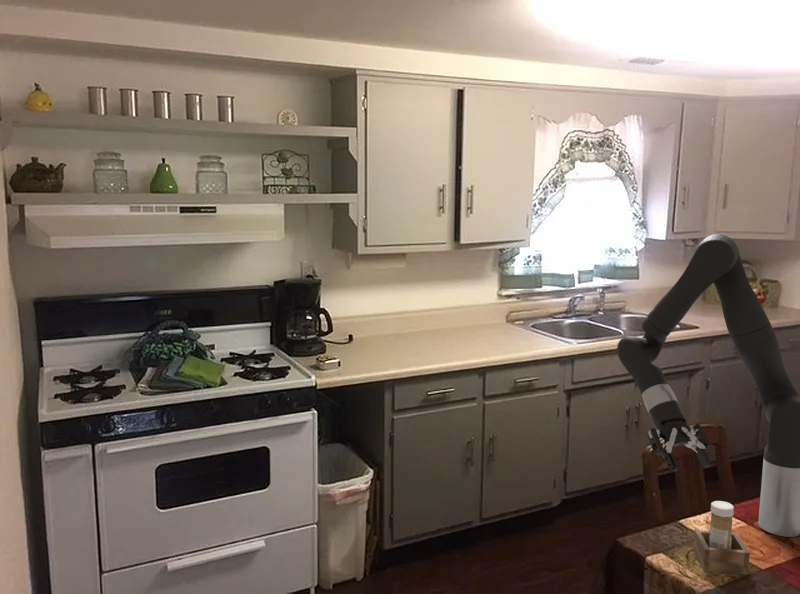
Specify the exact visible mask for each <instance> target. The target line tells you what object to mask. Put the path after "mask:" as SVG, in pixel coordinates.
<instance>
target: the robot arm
mask: <svg viewBox="0 0 800 594" xmlns="http://www.w3.org/2000/svg"><path fill="white" fill-rule="evenodd" d="M739 251H740V250H739V248H738V245H737V244H736V242H735V241H734V239H732V238H731V237H729V236H728V235H724V234H721V233H714V234H710V235H708V236H707V237H705V238H704V239H702V240H701V241H700V243H699V244H698V245H696V248H695V250H694V252H693V256H692V257H691V259H690V261H688V265H687V266H686V268H685V270H684V271H683V273H682V274H681V276H680V277H679V278H678V280H677V281H676V283H674V285H673V286H672V287H671V288H670V289H669V290H668V291H667V293H665V295H664V296H663V297H662V298H661V299H660V300H659V301H658V302H657V303H656V305H655V306H654V307H653V308H652V309H651V311H650V312H649V313H648V314H647V315H646V317H645V318H644V319H643V322H642V323H641V327H642V330H643V331H644V335H643V336H642V337H639V336H632V335H628V336H627V335H626V336H624V337H622V338H620V340H619V341H618V343H617V346H616V351H617V356H618V359H619V361H620V363H621V364H622V366H623V368H624V369H626V371H627V372H628V374H629V375H630V377H631V378H632V379H633V380H634V381H635V383H636V386H637V388H638V390H639V392H640V395H641V397H642V400H643V403H644V406H645V409H646V410H647V413H648V415H649V417H650V419H651V421H652V424H653V426H654V427H652V428H651V429H650V430H648V432H647V433H646V436H647V439H648V441H649V444H650V447H651V450H652V453H653V454H654V455H655V456H662V457H663V458H664V461H665V462H666V465H667V467H668V469H670V470H671V472H673V473H674V472H677V471H678V470H679V467H680V466H679V464H678V462H677V459H676V457H675V455H674V453H673V452H672V450H673V447H674V448H675V447H677V446H680V447H682V446H685V447H686V448H688V449H691V450H693V451H694V452H696V457H697V459H698V461H699V462H700V465H701V468H703V469H704V468H708V467H709V466H710V465H711V460H710V457H709V455H708V454H707V451H706V449H708V448H709V447H710V446H711V442H710V441H709V439H708V436H707V435H706V433H705V431H704V430H703V427H702V426H701V425H700V423H698V422H697V423H695V424H694V425H688V423H687V421H686V420H687V419H686V415H685V413H684V412H683V409H682V407H681V404H680V403H679V400H678V399H677V397H676V394H675V393H674V391H673V389H672V388H671V386H670V385H669V383H668V380H667V378H666V376H665V374H664V371H662V369H661V368H660V367H659V366H657V365H655V364H654V363H653V362H654V361H655V360H657V358H658V357H659V355H660V353H661V352H662V350H663V347H664V345H665V342H666V341H667V338H668V336H670V334H671V333H672V332H673V331H674V330H675V329H676V327H677V326H678V325H679V323H680V322H681V321H682V319H684V317H685V316H686V315H687V314H688V312H689V310H690V309H691V308H692V306H693V305H694V304H695V302H696V301H697V300H698V299H699V298H700V296H702V294H703V293H704V292H705V291H706V290H707V289H708V288H709V287H710V286H712V285H714V287H715V289H716V291H717V294H718V296H719V300H720V304H721V310H722V314H723V318H724V321H725V322H724V323H725V326H726V329H727V332H728V334H729V337H730V339H731V341H732V343H733V345H734V347H735V349H736V352H737V353H738V356H739V357H740V359H741V361H742V363H743V365H744V366H745V368H746V369H747V371H748V372H749V374H750V376H751V377H752V379H753V381H754V383H755V386H756V389H757V391H758V394H759V397H760V400H761V404H762V408H763V412H764V414H765V418H766V420H767V421H768V424H769V428H768V437H767V438H768V439H767V445H765V447H764V450H763V462H762V474H761V475H762V476H761V485H760V487H761V488H760V499H759V510H758V511H759V512H758V527H759V528H761V529H762V530H764V531H766V532H767V533H770V534H771V535H775V536H778V537H779V536H780V537H784V538H787V537H789V538H792V537H793V538H795V537H798V536H800V395H799V393H798V392H797V390H796V388H795V387H794V385H793V383H792V381H791V379H790V377H789V376H788V374H787V372H786V368H785V365H784V361H783V355H782V352H781V351H782V350H781V347H780V344H779V340H778V338H777V335H776V332H775V330H774V328H773V326H772V324H771V322H770V319H769V317H768V315H767V313H766V311H765V309H764V307H763V305H762V303H761V301H760V300H759V297H758V296H757V295H756V292H755V291H754V289H753V288H752V285H751V284H750V282H749V279H748V276H747V274H746V270H745V267H744V264H743V262H742V258H741V254H740V252H739ZM660 438H661V439H662V440H663V442H662V441H661V439H660Z"/></svg>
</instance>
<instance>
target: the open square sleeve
mask: <svg viewBox="0 0 800 594" xmlns="http://www.w3.org/2000/svg"><path fill="white" fill-rule="evenodd" d="M709 538H710V530H707V529H706V530H703V529H694V531H693V546H692V549H693V553H694V554H695V556H696V558H697V560H698V562H699V565H700V567H701V569H702V570H703V572H709V573H711V572H712V573H722V574H723V573H724V574H732V575H733V574H734V575H746V576H747V575H748V576H749V568H750V555H751V553H750V551H749V549H748V547H747V546H746V544H744V542H743V541H742V539H741V537H740V536H739V534H738V533H737V532H733V531H732V532H731V549H721V548H709Z"/></svg>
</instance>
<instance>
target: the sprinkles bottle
mask: <svg viewBox="0 0 800 594" xmlns="http://www.w3.org/2000/svg"><path fill="white" fill-rule="evenodd" d="M734 513H735V507H734V505H733V504H731V503H730V502H728V501H723V500H715V501H712V502H711V503H710V514H711V517H710V525H709V526H710V527H709V531H710V538H709V548H721V549H731V532H733V531H732V530H733V529H732V528H733V517H734V515H735V514H734Z"/></svg>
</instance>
